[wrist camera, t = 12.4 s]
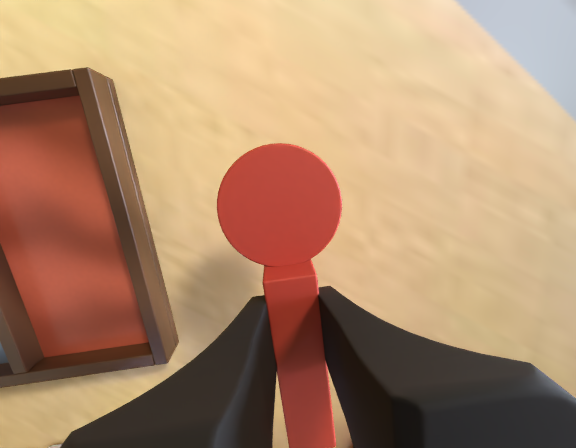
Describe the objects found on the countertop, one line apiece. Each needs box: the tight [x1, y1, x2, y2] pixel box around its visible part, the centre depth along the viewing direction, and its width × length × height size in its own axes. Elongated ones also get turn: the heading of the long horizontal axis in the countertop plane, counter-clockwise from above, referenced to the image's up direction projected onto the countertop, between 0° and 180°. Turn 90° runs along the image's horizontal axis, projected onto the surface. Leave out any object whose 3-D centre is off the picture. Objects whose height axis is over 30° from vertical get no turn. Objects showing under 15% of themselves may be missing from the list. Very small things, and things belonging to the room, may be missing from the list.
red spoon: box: [217, 143, 342, 448], centre depth 11 cm, size 12×4×3 cm, turn 7°
